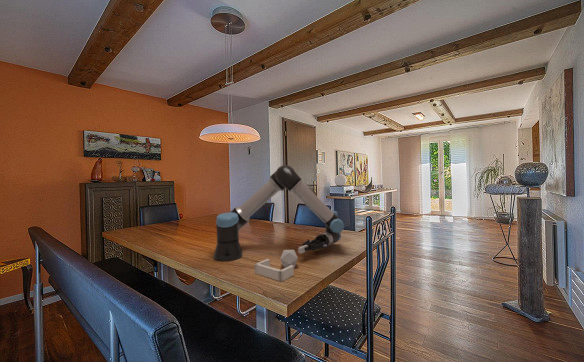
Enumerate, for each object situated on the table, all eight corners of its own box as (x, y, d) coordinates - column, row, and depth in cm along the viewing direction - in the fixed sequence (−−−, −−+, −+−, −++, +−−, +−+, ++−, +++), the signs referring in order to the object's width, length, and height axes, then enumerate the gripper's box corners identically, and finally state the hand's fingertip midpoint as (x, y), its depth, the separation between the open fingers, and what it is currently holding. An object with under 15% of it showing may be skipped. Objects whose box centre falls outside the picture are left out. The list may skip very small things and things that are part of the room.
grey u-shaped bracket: (254, 272, 111) (254, 264, 111) (267, 267, 118) (267, 258, 118) (281, 281, 101) (281, 272, 101) (294, 274, 108) (293, 265, 108)
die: (291, 272, 112) (302, 253, 115) (275, 262, 113) (286, 244, 116) (291, 272, 119) (301, 254, 122) (276, 263, 121) (286, 245, 124)
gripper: (333, 248, 138) (310, 260, 119) (314, 245, 146) (289, 255, 127) (333, 235, 138) (310, 245, 119) (314, 232, 146) (289, 241, 127)
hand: (299, 250), depth 123 cm, fingers closed
